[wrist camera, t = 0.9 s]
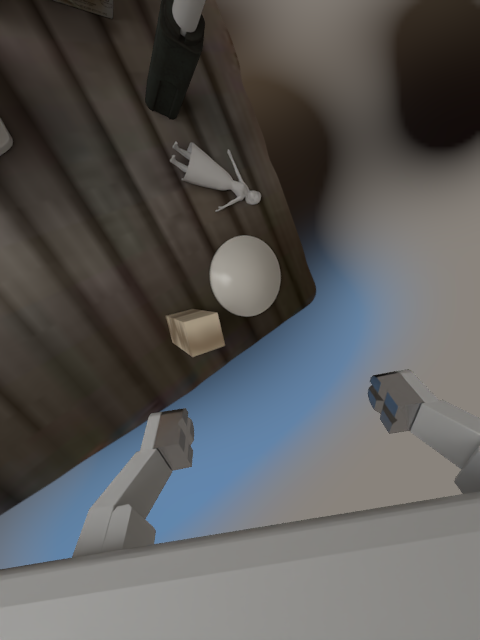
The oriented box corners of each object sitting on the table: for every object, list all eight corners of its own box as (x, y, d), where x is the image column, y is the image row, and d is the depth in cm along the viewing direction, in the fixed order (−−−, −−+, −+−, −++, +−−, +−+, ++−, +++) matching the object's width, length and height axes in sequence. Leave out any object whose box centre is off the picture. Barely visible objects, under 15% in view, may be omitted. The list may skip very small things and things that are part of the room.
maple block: (165, 315, 43) (183, 322, 33) (192, 308, 46) (217, 312, 35) (172, 342, 44) (192, 357, 34) (198, 334, 47) (224, 345, 36)
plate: (200, 242, 45) (202, 241, 44) (270, 232, 52) (273, 231, 51) (219, 325, 48) (221, 325, 47) (283, 305, 55) (286, 305, 54)
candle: (179, 91, 41) (260, -143, 19) (176, 122, 41) (252, -74, 19) (147, 74, 39) (198, -215, 17) (144, 107, 39) (190, -136, 17)
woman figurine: (183, 108, 38) (272, 166, 47) (174, 125, 41) (258, 176, 51) (168, 182, 38) (260, 226, 47) (161, 192, 41) (247, 230, 51)
